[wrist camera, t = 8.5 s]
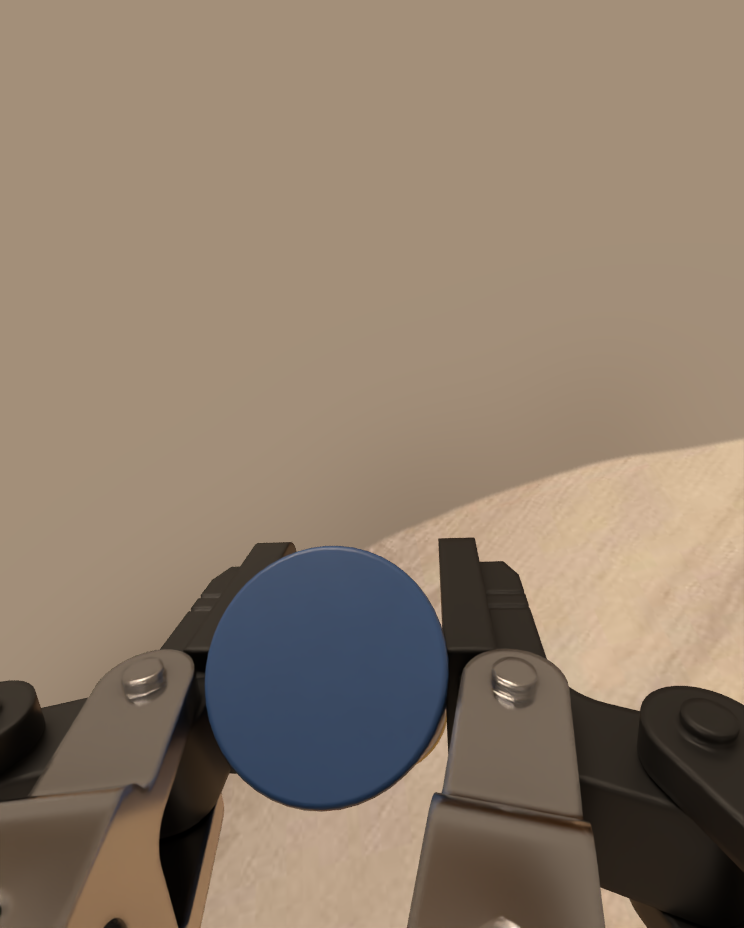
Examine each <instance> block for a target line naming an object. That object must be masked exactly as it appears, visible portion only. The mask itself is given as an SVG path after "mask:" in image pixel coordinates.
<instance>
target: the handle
mask: <svg viewBox="0 0 744 928" xmlns="http://www.w3.org/2000/svg"><path fill="white" fill-rule="evenodd" d="M448 679H449V670H448V654H447V648H446V641H445V638H444V634H443V631H442V627H441V624H440V622H439V619H438V617H437V615H436V612H435V610H434V608H433V607H432V605H431V603H430V601H429V600H428V598H427V596H426V595H425V594H424V592H423V591H422V590H421V589H420V587H419V586H418V585H417V583H416V582H415V581H414V580H413V579H412V578H410V577H409V576H408V575H407V574H406V573H405V572H404V571H403V570H401V569H400V568H399V567H397V566H396V565H395V564H393V563H391V562H390V561H388V560H386V559H384V558H383V557H381V556H378V555H376V554H373V553H371V552H368V551H365V550H361V549H357V548H352V547H344V546H323V547H315V548H309V549H306V550H302V551H298V552H295V553H293V554H290V555H288V556H285V557H283V558H281V559H279V560H277V561H275V562H274V563H272V564H270V565H269V566H267V567H266V568H264V569H263V570H261V571H260V572H259V573H257V574H256V575H255V576H254V577H253V578H252V579H251V580H249V581H248V582H247V583H246V584H245V585H244V587H243V588H242V589H241V590H240V591H239V592H238V593H237V594H236V596H235V597H234V599H233V600H232V601H231V603H230V604H229V606H228V607H227V609H226V610H225V612H224V614H223V616H222V618H221V619H220V621H219V624H218V626H217V628H216V631H215V633H214V636H213V639H212V642H211V645H210V649H209V652H208V658H207V664H206V672H205V698H206V707H207V712H208V717H209V722H210V725H211V728H212V731H213V734H214V737H215V739H216V741H217V743H218V746H219V748H220V750H221V752H222V754H223V755H224V757H225V758H226V760H227V761H228V763H229V764H230V766H231V767H232V768H233V769H234V770H235V772H236V773H237V774H238V775H239V776H240V777H241V778H242V779H243V780H244V781H245V782H246V783H247V784H248V785H250V786H251V787H252V788H253V789H254V790H256V791H257V792H259V793H260V794H262V795H264V796H265V797H267V798H269V799H270V800H272V801H275V802H277V803H280V804H282V805H285V806H287V807H292V808H296V809H301V810H307V811H332V810H341V809H345V808H348V807H352V806H356V805H359V804H361V803H364V802H366V801H368V800H371V799H373V798H375V797H377V796H378V795H380V794H382V793H383V792H385V791H386V790H388V789H390V788H391V787H392V786H393V785H395V784H396V783H397V782H398V781H399V780H401V779H402V778H403V777H404V776H405V775H406V774H407V773H408V772H409V771H410V770H411V769H412V768H413V767H414V766H415V765H416V764H418V763H419V762H421V761H422V760H423V759H424V758H426V757H427V756H428V755H429V754H430V753H431V752H432V750H433V749H434V748H435V747H436V745H437V744H438V742H439V740H440V738H441V736H442V735H443V732H444V729H445V726H446V722H447V716H446V701H447V691H448Z"/></svg>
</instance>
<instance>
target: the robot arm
mask: <svg viewBox="0 0 744 928" xmlns="http://www.w3.org/2000/svg"><path fill="white" fill-rule="evenodd" d="M438 541H439V565H440V588H441V612H442V631H443V634H444V638H445V641H446V648H447V654H448V670H449V679H448V691H447V701H446V716H447V736H448V761H447V767H446V773H445V779H444V785H443V790H442V793H437V792H435V793H434V795H433V797H432V800H431V804H430V808H429V813H428V817H427V823H426V828H425V833H424V839H423V844H422V850H421V855H420V860H419V866H418V871H417V876H416V882H415V887H414V893H413V898H412V903H411V909H410V914H409V920H408V925H407V928H605V922H604V914H603V906H602V898H601V890H600V887H601V888H604V889H606V890H609V891H611V892H614V893H617V894H619V895H622V896H624V897H627V898H629V899H630V901H631V903H632V905H633V907H634V909H635V911H636V912H637V914H638V915H639V917H640V918H641V920H642V921H643V922H644V924H645V925H646V927H647V928H744V705H743V704H741V703H739V702H737V701H735V700H733V699H731V698H729V697H727V696H724V695H722V694H719V693H716V692H713V691H710V690H706V689H702V688H697V687H690V686H670V687H664V688H661V689H658V690H656V691H653V692H652V693H650V694H649V695H648V696H646V698H645V699H644V701H643V702H642V705H641V709H640V711H636V710H632V709H628V708H624V707H620V706H616V705H612V704H607V703H604V702H600V701H597V700H594V699H591V698H589V697H586V696H584V695H582V694H580V693H578V692H576V691H575V690H573V689H572V688H570V687H569V686H568V682H567V680H566V678H565V676H564V674H563V673H562V672H561V670H560V669H559V668H558V667H556V666H555V665H554V664H553V663H551V662H550V661H549V660H547V658H546V655H545V652H544V649H543V646H542V643H541V640H540V637H539V634H538V631H537V628H536V625H535V622H534V619H533V616H532V613H531V610H530V608H529V604H528V601H527V598H526V595H525V594H524V589H523V586H522V583H521V580H520V577H519V575H518V574H517V573H516V572H515V571H514V570H513V569H511V568H510V567H509V566H508V565H507V564H506V563H505V562H503V561H495V562H479V557H478V552H477V547H476V542H475V538H441V539H438ZM295 552H296V548H295V546H294V544H293V543H292V542H283V543H257V544H256V545H255V546H254V547H253V549H252V550H251V552H250V553H249V555H248V556H247V557H246V559H245V560H244V562H243V563H242V565H241V566H240V567H231V568H229V569H228V570H226V571H225V572H223V573H222V574H220V575H219V576H217V577H216V578H215V579H213V580H212V581H211V582H210V584H209V585H208V586H207V588H206V589H205V590H204V592H203V593H202V594H201V598H199V599H198V600H197V601H196V602H195V604H194V605H193V606H192V608H191V611H189V612H188V613H187V614H186V616H185V617H184V618H183V620H182V621H181V622H180V624H179V625H178V626H177V627H176V629H175V630H174V631H173V633H172V634H171V635H170V637H169V638H168V639H167V641H166V642H165V643H164V645H163V646H162V647H161V649H160V650H155V651H150V652H146V653H143V654H140V655H137V656H134V657H132V658H130V659H127V660H126V661H124V662H122V663H120V664H118V665H117V666H116V667H114V668H112V669H111V670H110V671H109V672H108V673H106V674H105V675H104V676H103V677H102V678H101V679H100V681H99V682H98V683H97V685H96V686H95V688H94V689H93V691H92V693H91V694H90V696H89V697H88V698H84V699H80V700H75V701H71V702H66V703H62V704H58V705H53V706H48V707H44V708H41V707H40V704H39V701H38V698H37V695H36V692H35V689H34V687H33V686H32V685H30V684H29V683H27V682H24V681H3V682H0V928H201V923H202V918H203V913H204V908H205V904H206V899H207V894H208V889H209V884H210V879H211V875H212V870H213V865H214V860H215V855H216V851H217V846H218V841H219V836H220V831H221V826H222V822H223V817H224V802H223V798H222V793H221V792H222V789H223V787H224V784H225V782H226V780H227V777H228V775H229V773H233V774H237V773H236V772H235V770H234V769H233V768H232V767H231V766H230V764H229V763H228V761H227V760H226V758H225V757H224V755H223V754H222V752H221V750H220V748H219V746H218V743H217V741H216V739H215V737H214V734H213V731H212V728H211V725H210V722H209V717H208V712H207V707H206V698H205V672H206V664H207V658H208V652H209V649H210V645H211V642H212V639H213V636H214V633H215V631H216V628H217V626H218V624H219V621H220V619H221V618H222V616H223V614H224V612H225V610H226V609H227V607H228V606H229V604H230V603H231V601H232V600H233V599H234V597H235V596H236V594H237V593H238V592H239V591H240V590H241V589H242V588H243V587H244V585H245V584H246V583H247V582H248V581H249V580H251V579H252V578H253V577H254V576H255V575H256V574H257V573H259V572H260V571H261V570H263V569H264V568H266V567H267V566H269V565H270V564H272V563H274V562H275V561H277V560H279V559H281V558H283V557H285V556H288V555H290V554H293V553H295Z"/></svg>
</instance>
